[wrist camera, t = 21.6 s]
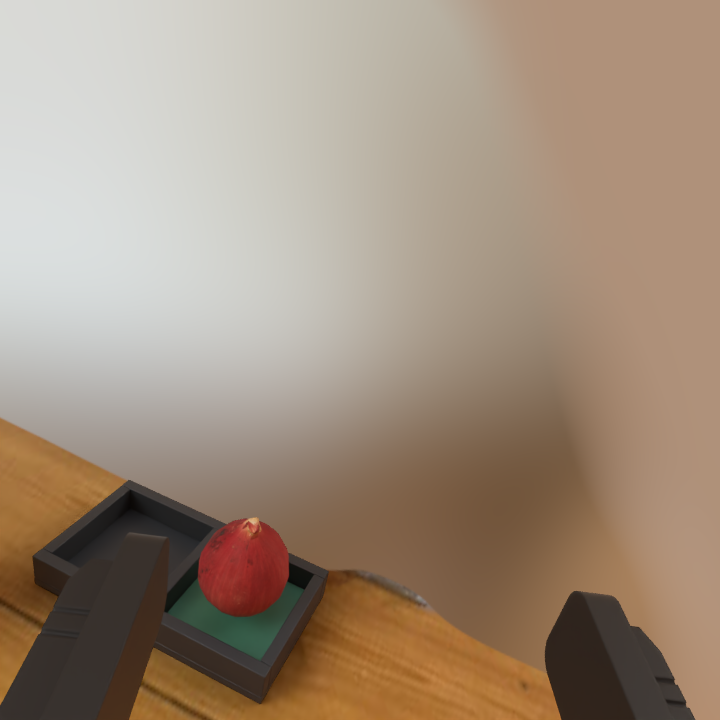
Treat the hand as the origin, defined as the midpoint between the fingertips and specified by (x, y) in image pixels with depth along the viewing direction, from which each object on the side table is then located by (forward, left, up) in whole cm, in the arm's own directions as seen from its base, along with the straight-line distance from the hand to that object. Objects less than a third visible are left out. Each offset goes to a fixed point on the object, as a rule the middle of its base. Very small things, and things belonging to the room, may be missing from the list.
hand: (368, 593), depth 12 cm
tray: (+7, -21, -26) cm, 34 cm away
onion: (+4, -20, -25) cm, 32 cm away
